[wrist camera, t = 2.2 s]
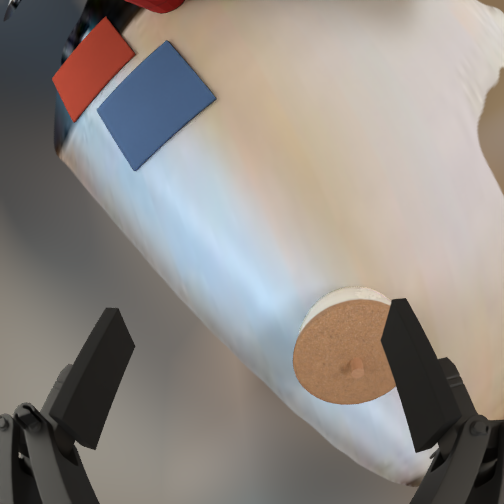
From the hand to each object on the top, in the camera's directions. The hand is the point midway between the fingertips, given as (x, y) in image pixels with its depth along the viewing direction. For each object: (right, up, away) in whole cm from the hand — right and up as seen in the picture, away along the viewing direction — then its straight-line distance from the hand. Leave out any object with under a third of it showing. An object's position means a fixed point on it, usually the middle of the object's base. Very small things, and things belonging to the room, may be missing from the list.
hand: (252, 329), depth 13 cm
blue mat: (-13, +23, +19) cm, 32 cm away
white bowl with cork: (+12, -5, +21) cm, 25 cm away
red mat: (-25, +32, +19) cm, 45 cm away
